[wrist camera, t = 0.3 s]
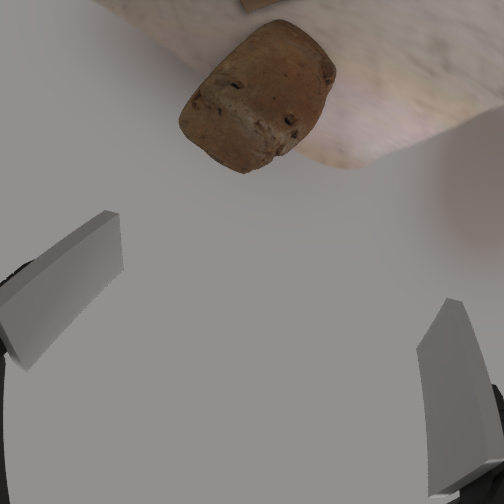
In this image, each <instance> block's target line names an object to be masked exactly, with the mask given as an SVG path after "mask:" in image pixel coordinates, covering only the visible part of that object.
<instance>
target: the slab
mask: <svg viewBox="0 0 504 504" xmlns="http://www.w3.org/2000/svg"><path fill="white" fill-rule="evenodd" d="M240 1H241V3H242V4H243V6H244V8H245V10H246V11H247V13H248V12H251V11H253V10H256V9H258V8H261V7H264V6H266V5H269V4H272V3H275V2H277V1H280V0H240Z"/></svg>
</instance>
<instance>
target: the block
mask: <svg viewBox="0 0 504 504" xmlns="http://www.w3.org/2000/svg"><path fill="white" fill-rule="evenodd" d="M335 77H336V68H335V65H334V64H333V63H332V61H331V60H330V58H329V57H328V56H327V54H326V53H325V51H324V50H323V49H322V48H321V47H320V46H319V45H318V43H317V42H316V41H314V40H313V39H312V38H311V37H310V36H309V35H308V34H307V33H305V32H304V31H303V30H301V29H300V28H298V27H297V26H295V25H293V24H291V23H289V22H287V21H284V20H275V21H272V22H270V23H267V24H265V25H264V26H262V27H260V28H259V29H258V30H257V31H255V32H254V33H253V34H251V35H250V36H249V37H248V38H247V39H246V40H245V41H244V42H243V43H241V44H240V45H239V46H238V47H237V48H236V49H235V50H233V51H232V52H231V53H230V54H229V55H228V56H227V57H226V58H225V59H224V60H223V61H222V62H221V63H220V64H219V65H218V66H217V67H216V68H215V69H214V71H213V72H212V73H211V74H210V75H209V77H208V78H207V79H205V81H204V82H203V83H202V84H201V85H200V86H199V88H198V89H197V90H196V91H195V92H194V94H193V95H192V97H191V98H190V99H189V101H188V102H187V104H186V105H185V107H184V109H183V110H182V112H181V115H180V117H179V126H180V129H181V130H182V132H183V133H184V135H185V136H186V137H187V138H188V139H189V140H190V141H192V142H193V143H194V144H196V145H197V146H198V147H200V148H201V149H203V150H204V151H205V152H206V153H207V154H208V155H209V156H210V157H211V158H213V159H214V160H215V161H217V162H218V163H220V164H222V165H224V166H226V167H228V168H230V169H231V170H234V171H236V172H239V173H242V174H245V173H249V172H250V171H252V170H255V169H259V168H261V167H263V166H265V165H267V164H269V163H270V162H271V161H272V160H273V157H275V156H283V155H285V154H286V153H288V152H289V151H290V150H291V149H292V148H294V147H295V146H296V145H297V144H298V143H299V142H300V141H301V140H302V139H304V138H305V137H306V136H307V135H308V134H309V133H310V131H311V130H312V129H313V128H314V126H315V124H316V123H317V121H318V119H319V117H320V115H321V113H322V110H323V108H324V105H325V101H326V97H327V95H328V93H329V91H330V90H331V88H332V85H333V83H334V81H335Z"/></svg>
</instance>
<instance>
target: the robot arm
mask: <svg viewBox="0 0 504 504" xmlns="http://www.w3.org/2000/svg"><path fill="white" fill-rule="evenodd" d="M123 270H124V268H123V256H122V247H121V233H120V219H119V214H118V213H114V212H110V211H106V210H104V211H103V212H102V213H100V214H99V215H97V216H95V217H94V218H92V219H91V220H89V221H88V222H86V223H85V224H83V225H82V226H81V227H79V228H78V229H76V230H75V231H74V232H72V233H70V234H69V235H68V236H66V237H65V238H63V239H62V240H61V241H59V242H58V243H57V244H55V245H54V246H52V247H51V248H50V249H48V250H47V251H46V252H44V253H43V254H42V255H40V256H39V257H38V258H36V259H35V260H32V261H30V262H28V263H26V264H23V265H22V266H21V267H20V268H18V269H17V270H16V271H15V272H14V274H11V275H10V276H8V277H7V279H6V280H3V281H2V282H1V283H0V504H10V501H9V494H8V487H7V480H6V471H5V459H4V442H3V394H4V376H5V365H6V364H5V358H4V356H3V355H4V354H5V353H6V352H8V353H9V355H10V357H11V359H12V361H13V362H14V363H15V364H16V365H18V366H19V367H20V368H22V369H23V370H25V371H26V372H27V371H28V370H29V369H30V368H31V367H32V366H33V365H34V363H35V362H36V361H37V360H38V359H39V358H40V356H41V355H42V354H43V353H44V352H45V351H46V350H47V348H48V347H49V346H50V345H51V344H52V343H53V342H54V341H55V340H56V339H57V338H58V336H59V335H60V334H61V333H62V332H63V331H64V330H65V329H66V328H67V327H68V326H69V325H70V324H71V323H72V321H73V320H74V319H75V318H76V317H77V316H78V315H79V314H80V313H81V312H82V311H83V310H84V309H85V308H86V307H87V306H88V305H89V304H90V303H91V301H93V300H94V299H95V298H96V297H97V295H99V294H100V292H102V290H104V288H105V287H106V286H108V284H109V283H111V281H112V280H113V279H115V278H116V277H117V275H119V274H120V273H121V272H122V271H123ZM417 355H418V361H419V368H420V375H421V383H422V390H423V399H424V409H425V420H426V432H427V450H428V498H433V497H447V496H449V495H451V494H453V493H455V492H456V491H458V490H460V497H458V498H457V499H455V500H453V501H451V502H449V503H447V504H504V399H503V396H502V395H501V393H500V391H499V390H498V388H497V386H496V385H493V384H491V382H490V378H489V375H488V372H487V368H486V365H485V362H484V359H483V356H482V353H481V350H480V347H479V344H478V342H477V338H476V336H475V333H474V330H473V328H472V325H471V322H470V320H469V317H468V315H467V312H466V310H465V307H464V305H463V303H462V302H461V301H457V300H453V299H449V298H447V299H446V300H445V302H444V304H443V306H442V308H441V310H440V311H439V313H438V315H437V316H436V318H435V320H434V321H433V323H432V325H431V326H430V328H429V330H428V331H427V333H426V334H425V336H424V338H423V339H422V341H421V342H420V344H419V345H418V347H417Z"/></svg>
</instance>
